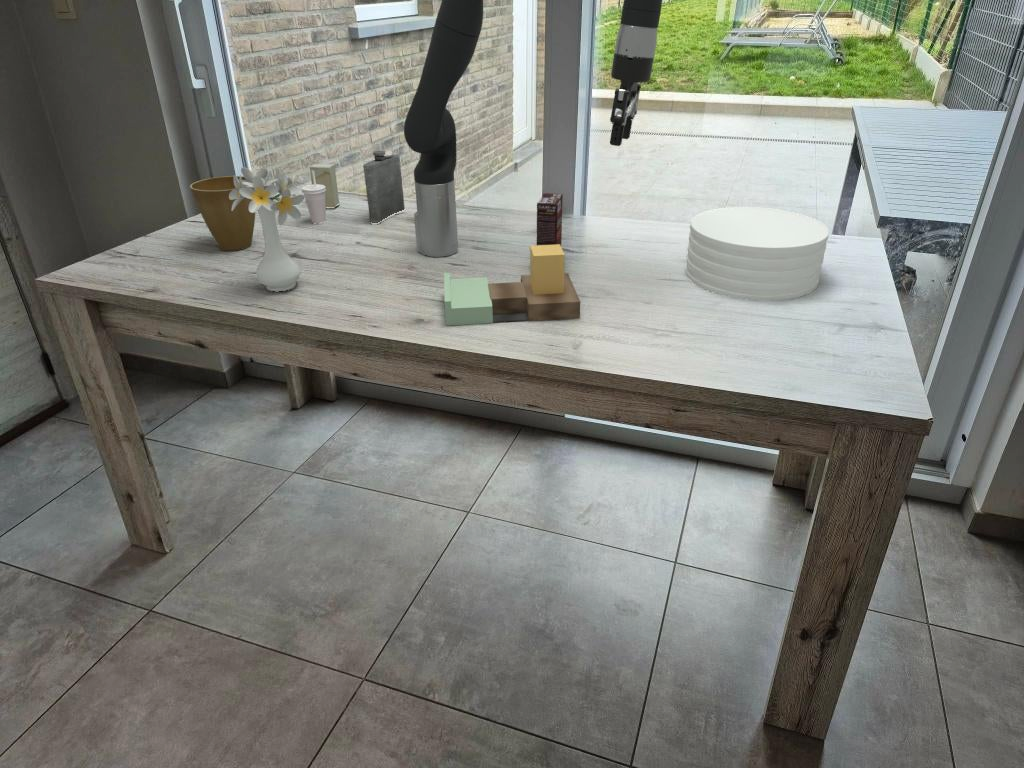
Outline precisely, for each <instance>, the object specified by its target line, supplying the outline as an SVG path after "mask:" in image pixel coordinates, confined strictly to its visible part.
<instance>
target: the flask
mask: <svg viewBox="0 0 1024 768" xmlns="http://www.w3.org/2000/svg"><path fill="white" fill-rule="evenodd" d="M372 155H373V157H374V158H373V160H370V161H368V162H366V163H364V164H362V165H363V166H362V167H363V174H364V175H363V176H364V182H365V191H366V197H367V207H368V213H369V214H368V215H369V222H372V223H378V222H380V221H382V220H383V219H385V218H387V217H388V216H390V215H392V214H394V213H397V212H399V211H402V210H404V209H405V200H404V188H403V179H402V169H401V158H400V157H401V156H400V154H388V155H387V154H386V151H385V150H374V151H373V152H372Z"/></svg>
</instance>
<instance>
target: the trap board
mask: <svg viewBox="0 0 1024 768" xmlns="http://www.w3.org/2000/svg"><path fill="white" fill-rule="evenodd" d="M488 287H489V295H490V296H491V298H490V299H491V301H492V311H493V323H492V324H497V323H499V324H500V323H517V322H518V323H520V322H535V321H537V322H538V321H552V320H570V319H580V318H581V300H580V298H579V295H578V293H577V291H576V289H575V286H574V284H573V282H572V280H571V277H570V274H569V273H568V272H567V273H566V272H564V293H559V294H540V295H534V294H533V291H532V287H531V284H530V274H529V275H520V281H513V282H497V283H495V282H494V283H489V284H488Z"/></svg>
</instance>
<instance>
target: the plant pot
mask: <svg viewBox="0 0 1024 768" xmlns="http://www.w3.org/2000/svg"><path fill="white" fill-rule="evenodd" d="M236 176H237V178H238V180H239V176H240V175H236ZM233 178H234V175H226V176H217V177H211V178H205V179H201V180H198V181H195V182H193V183H191V184H190V185H189V188H190V190H191V193H192V197H193V198H194V200H195V203H196V204H195V205H196V206H197V208H198V211H199V212H200V213H199V214H200V215H201V217H202V219H203V220H204V222H205V224H206V227H207V228H208V230H209V232H210V234H211V235H212V237H213V239H214V241H215V242H216V243H217V245H218V246H219V248H220V250H223V251H228V252H229V251H232V252H233V251H241V249H242V250H244V248H245V249H247V247H248V248H250V247H251V246H252V242H253V237H254V235H253V234H254V231H255V223H256V222H255V221H256V212H255V213H251V212H249V204H250V202H251V201H252V199H248V198H245V197H244V198H243V199H242V200H241V201H240V202H239V203H238V205H237V206H236V207H235V209H234V210H233V211H232V210H231V209H232V205H233V203H234V201H235V200H237V199H234V200H230V199H229V194H230V192H231V191H232V190H238V189H237V188H236V187H235V185H234V181H233ZM241 178H242V180H246V179H245V177H244V176H243V175H241ZM246 181H247V180H246ZM244 188H246V187H244Z"/></svg>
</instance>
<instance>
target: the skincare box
mask: <svg viewBox="0 0 1024 768" xmlns="http://www.w3.org/2000/svg"><path fill="white" fill-rule="evenodd" d="M312 171H314V174H315V180H316V184H320V185H324V186H325V187H326V191H325V206H326V207H335V206H336V205H337V204H338V203H339V204H340V198H339V191H338V182H337V181H338V179H337V174H336V172H337V171H336V165H335V163H333V164H331V163H313V164H312V165H310V166H309V172H310V173H309V174H310V182H311V185H314V181H313V174H312Z"/></svg>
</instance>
